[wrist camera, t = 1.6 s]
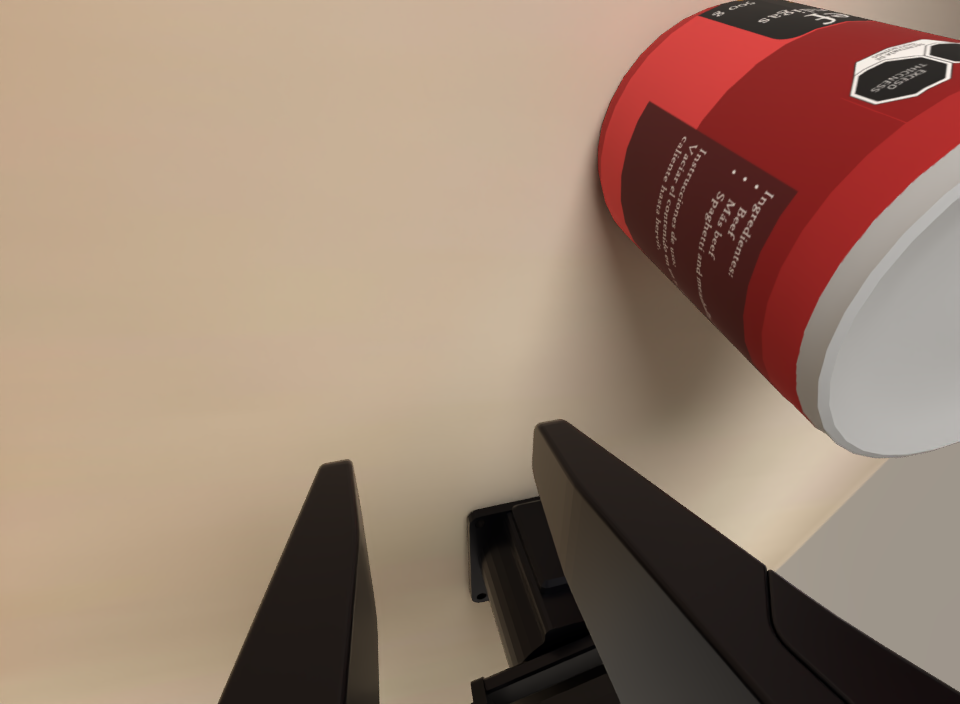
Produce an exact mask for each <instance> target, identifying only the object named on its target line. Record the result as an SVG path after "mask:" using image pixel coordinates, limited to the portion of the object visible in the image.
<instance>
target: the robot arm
mask: <svg viewBox="0 0 960 704" xmlns="http://www.w3.org/2000/svg"><path fill="white" fill-rule="evenodd" d="M532 469H533V475H534V479H535V483H536V486H537V489H538V492H539V496H540V497H535V498H530V499H525V500H521V501H516V502H511V503H507V504H502V505H497V506H492V507H488V508H483V509H478V510H475V511H473V512H472V513H470V514H469V516H468V518H467V529H468V557H469V585H470V594H471V598H472V601H474V602H477V603H479V602H484V601H490V604H491V608H492V611H493V614H494V618H495V621H496V624H497V628H498V631H499V635H500V638H501V641H502V645H503V648H504V651H505V655H506V658H507V661H508V665H509V668H508V669H506V670H504V671H501V672H499V673H497V674H494V675H492V676H490V677H487V678H484V677H481V678H479V679H477V680H474V681H472V682H471V689H472V696H473V703H471V704H960V692H959V691H957V690H955V689H954V688H952V687H950V686H949V685H947V684H946V683H944V682H942V681H941V680H939V679H937V678H936V677H934V676H932V675H931V674H929V673H928V672H926V671H924V670H923V669H921V668H919V667H918V666H916V665H914V664H913V663H911V662H910V661H908V660H906V659H905V658H903V657H901V656H900V655H898V654H897V653H895V652H893V651H892V650H890V649H888V648H887V647H885V646H884V645H882V644H880V643H879V642H877V641H875V640H874V639H873V638H871V637H869V636H868V635H866V634H865V633H863V632H862V631H860V630H858V629H857V628H855V627H854V626H852V625H851V624H849V623H847V622H846V621H844V620H843V619H841V618H840V617H838V616H836V615H835V614H834V613H832V612H831V611H829V610H828V609H826V608H825V607H824V606H822V605H821V604H819V603H818V602H816V601H815V600H814V599H812V598H811V597H809V596H808V595H806V594H805V593H803V592H802V591H801V590H799V589H797V588H796V587H795V586H794V585H792V584H791V583H789V582H788V581H786V580H785V579H784V578H782V577H781V576H780V575H778V574H777V573H776V572H774V571H773V570H768V571H767V568H766V566H765V565H764V564H763V563H761V562H760V561H759V560H757V559H756V558H755V557H753V556H752V555H750V554H749V553H748V552H746V551H745V550H744V549H742V548H741V547H739V546H738V545H737V544H735V543H734V542H732V541H731V540H730V539H728V538H727V537H726V536H724V535H723V534H721V533H720V532H719V531H717V530H716V529H715V528H713V527H712V526H710V525H709V524H708V523H706V522H705V521H704V520H702V519H701V518H699V517H698V516H697V515H695V514H694V513H693V512H691V511H690V510H688V509H687V508H686V507H684V506H683V505H681V504H680V503H679V502H677V501H676V500H675V499H673V498H672V497H670V496H669V495H668V494H666V493H665V492H664V491H662V490H661V489H659V488H658V487H657V486H655V485H654V484H653V483H651V482H650V481H648V480H647V479H646V478H644V477H643V476H642V475H640V474H639V473H637V472H636V471H635V470H633V469H632V468H630V467H629V466H628V465H626V464H625V463H624V462H622V461H621V460H619V459H618V458H617V457H615V456H614V455H613V454H611V453H610V452H608V451H607V450H606V449H604V448H603V447H602V446H600V445H599V444H597V443H596V442H595V441H593V440H592V439H591V438H589V437H588V436H586V435H585V434H584V433H582V432H581V431H580V430H578V429H577V428H575V427H574V426H573V425H571V424H570V423H568V422H567V421H565V420H562V419H557V420H552V421H547V422H541V423H538V424H537V425H536V426H535V429H534V438H533V457H532ZM218 704H379V667H378V631H377V616H376V607H375V599H374V592H373V586H372V579H371V572H370V565H369V559H368V552H367V545H366V539H365V532H364V525H363V519H362V512H361V506H360V500H359V495H358V489H357V484H356V478H355V473H354V468H353V464H352V462H351V461H350V460H348V459H345V460H340V461H335V462H330V463H325V464H323V465H321V466H320V468H319V469H318V471H317V474H316V476H315V478H314V481H313V483H312V485H311V488H310V490H309V492H308V495H307V497H306V499H305V502H304V504H303V506H302V509H301V511H300V513H299V516H298V518H297V520H296V523H295V525H294V527H293V530H292V532H291V534H290V537H289V539H288V541H287V544H286V546H285V548H284V551H283V553H282V555H281V558H280V560H279V562H278V565H277V567H276V569H275V571H274V574H273V576H272V578H271V581H270V583H269V585H268V588H267V590H266V592H265V595H264V597H263V599H262V602H261V604H260V606H259V609H258V611H257V613H256V616H255V618H254V620H253V623H252V625H251V627H250V630H249V632H248V634H247V637H246V639H245V641H244V644H243V646H242V648H241V651H240V653H239V655H238V658H237V660H236V662H235V665H234V667H233V669H232V672H231V674H230V676H229V679H228V681H227V683H226V686H225V688H224V690H223V693H222V695H221V697H220V699H219V702H218Z"/></svg>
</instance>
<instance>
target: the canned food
mask: <svg viewBox="0 0 960 704" xmlns="http://www.w3.org/2000/svg"><path fill="white" fill-rule="evenodd" d="M598 172H599V177H600V182H601V186H602V191H603V195H604V199H605V203H606V205H607V207H608V209H609V211H610V213H611V215H612V217H613V219H614V221H615V222H616V223H617V225H618V226H619V227H620V228H621V229H622V230H623V232H624V233H625V234H626V235H627V236H628V237H629V238H630V239H631V240H632V241H633V242H634V243H635V244H636V245H637V246H638V247H639V248H640V249H641V250H642V251H643V253H644V254H645V255H646V256H647V257H648V258H649V259H650V260H651V261H652V262H653V263H654V264H655V265H656V266H657V267H658V268H659V269H660V270H661V271H662V272H663V273H664V274H665V275H666V276H667V277H668V278H669V279H670V280H671V281H672V282H673V283H674V284H675V285H676V286H677V287H678V289H679V290H680V291H681V292H682V293H683V294H684V295H685V296H686V297H687V298H688V299H689V300H690V301H691V302H692V303H693V304H694V305H695V306H696V307H697V308H698V309H699V310H700V311H701V312H702V313H703V314H704V315H705V316H706V317H707V318H708V319H709V320H710V321H711V322H712V324H713V325H714V326H715V327H716V328H717V329H718V330H719V331H720V332H721V333H722V334H723V335H724V336H725V337H726V338H727V339H728V340H729V341H730V342H731V343H732V344H733V345H734V346H735V347H736V348H737V349H738V350H739V351H740V352H741V353H742V354H743V355H744V356H745V357H746V358H747V360H748V361H749V362H750V363H751V364H752V365H753V366H754V367H755V368H756V369H757V370H758V371H759V372H760V373H761V374H762V375H763V376H764V377H765V378H766V379H767V380H768V381H769V382H770V383H771V384H772V385H773V386H774V387H775V388H776V389H777V390H778V391H779V392H780V393H781V395H782V396H783V397H785V398H786V399H787V400H788V401H789V402H791V403H792V404H793V405H794V406H795V407H796V408H797V409H798V410H799V411H800V412H801V413H802V414H803V415H804V416H805V417H806V418H807V419H808V420H809V421H810V422H811V423H812V424H813V426H814V427H815V428H817V429H819V430H820V431H822V432H824V433H826V434H827V435H828V436H829V437H830V438H831V439H832V440H833V441H834V442H835V443H836V444H837V445H839V446H841V447H843V448H844V449H846V450H848V451H850V452H852V453H853V454H858V455H863V456H867V457H872V458H899V457H906V456H911V455H916V454H922V453H927V452H931V451H934V450H937V449H940V448H943V447H946V446H949V445H952V444H955V443H958V442H960V40H956V39H951V38H947V37H942V36H938V35H934V34H929V33H925V32H921V31H916V30H912V29H908V28H903V27H899V26H895V25H890V24H886V23H881V22H877V21H873V20H868V19H864V18H860V17H855V16H851V15H847V14H842V13H838V12H834V11H829V10H825V9H820V8H816V7H812V6H807V5H803V4H799V3H794V2H790V1H786V0H737V1H732V2H728V3H724V4H720V5H717V6H714V7H710V8H707V9H705V10H703V11H701V12H698V13H696V14H694V15H692V16H690V17H688V18H685V19H683V20H682V21H681V22H679V23H678V24H676V25H675V26H673V27H672V28H670V29H669V30H668V31H666V32H665V33H663V34H662V35H661V36H660V37H659V38H658V39H657V40H655V41H654V42H653V43H652V44H651V45H650V46H649V47H648V48H647V49H646V50H645V51H644V52H643V53H642V54H641V55H640V56H639V58H638V59H637V60H636V62H635V63H634V64H633V66H632V67H631V68H630V70H629V71H628V72H627V73H626V75H625V76H624V78H623V79H622V81H621V83H620V85H619V87H618V89H617V90H616V92H615V94H614V96H613V98H612V100H611V102H610V105H609V107H608V110H607V113H606V116H605V118H604V121H603V124H602V129H601V134H600V140H599V145H598Z"/></svg>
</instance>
